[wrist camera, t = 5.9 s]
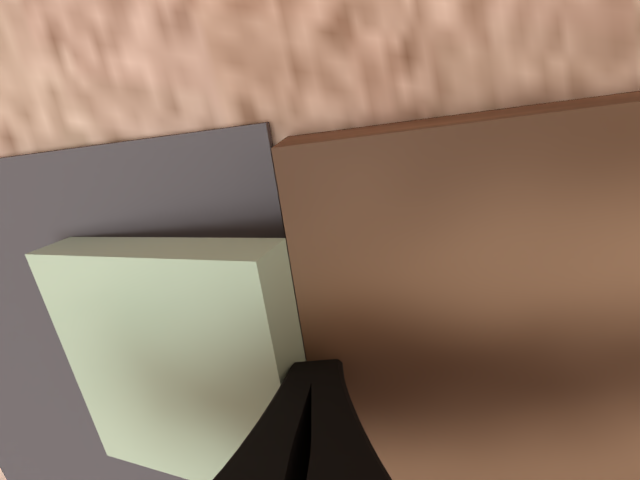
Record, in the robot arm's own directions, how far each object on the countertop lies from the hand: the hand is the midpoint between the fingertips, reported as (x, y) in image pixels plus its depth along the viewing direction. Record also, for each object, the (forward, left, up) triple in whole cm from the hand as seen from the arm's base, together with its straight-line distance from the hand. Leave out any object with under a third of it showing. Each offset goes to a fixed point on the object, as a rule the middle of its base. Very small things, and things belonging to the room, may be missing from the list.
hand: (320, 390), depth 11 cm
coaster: (0, +4, -2) cm, 5 cm away
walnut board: (-1, -7, -4) cm, 8 cm away
